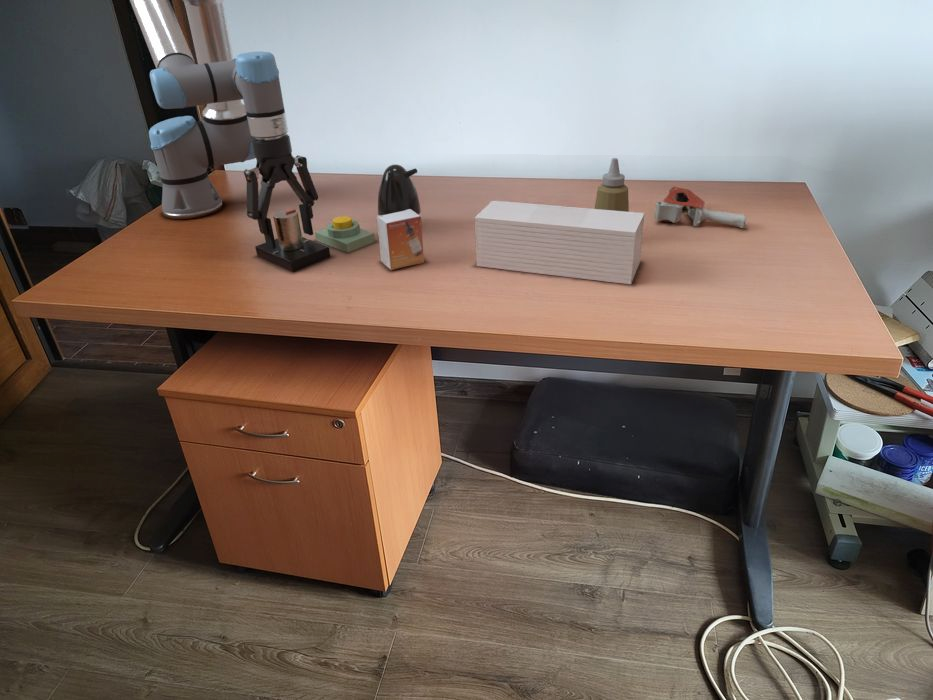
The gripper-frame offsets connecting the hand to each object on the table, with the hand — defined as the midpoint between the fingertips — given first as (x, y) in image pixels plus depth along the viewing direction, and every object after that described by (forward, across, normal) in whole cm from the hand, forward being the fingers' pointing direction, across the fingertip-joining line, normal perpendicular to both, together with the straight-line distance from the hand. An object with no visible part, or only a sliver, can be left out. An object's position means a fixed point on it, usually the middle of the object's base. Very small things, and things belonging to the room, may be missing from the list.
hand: (290, 240), depth 147 cm
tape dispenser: (+4, +72, -58) cm, 92 cm away
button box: (+4, +13, -2) cm, 14 cm away
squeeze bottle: (+4, +51, -49) cm, 71 cm away
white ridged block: (+4, +33, -49) cm, 59 cm away
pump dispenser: (+4, +27, -6) cm, 28 cm away
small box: (+4, +13, -22) cm, 26 cm away
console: (+4, 0, 0) cm, 4 cm away
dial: (+2, 0, 0) cm, 2 cm away
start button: (0, +13, -2) cm, 13 cm away
